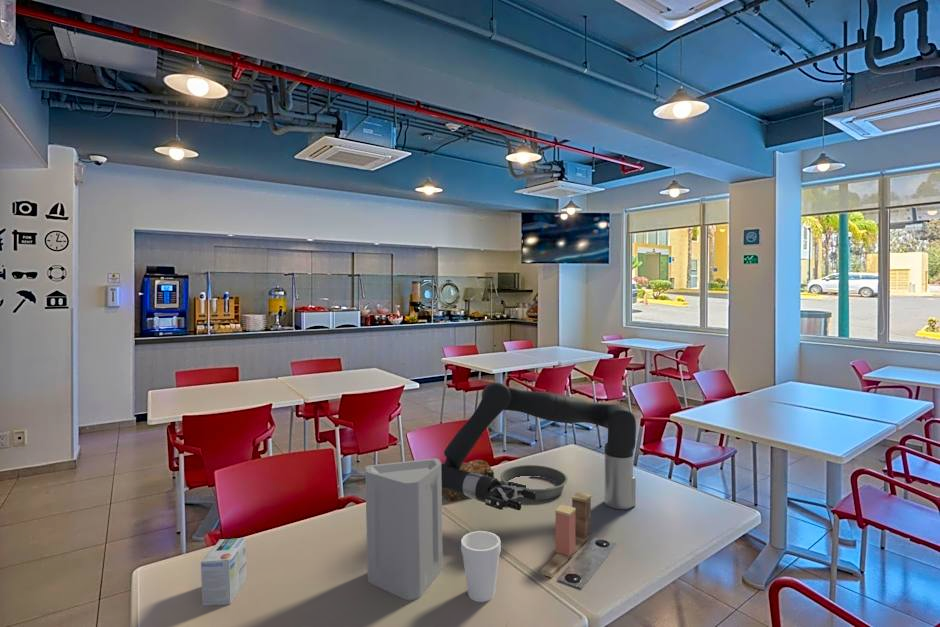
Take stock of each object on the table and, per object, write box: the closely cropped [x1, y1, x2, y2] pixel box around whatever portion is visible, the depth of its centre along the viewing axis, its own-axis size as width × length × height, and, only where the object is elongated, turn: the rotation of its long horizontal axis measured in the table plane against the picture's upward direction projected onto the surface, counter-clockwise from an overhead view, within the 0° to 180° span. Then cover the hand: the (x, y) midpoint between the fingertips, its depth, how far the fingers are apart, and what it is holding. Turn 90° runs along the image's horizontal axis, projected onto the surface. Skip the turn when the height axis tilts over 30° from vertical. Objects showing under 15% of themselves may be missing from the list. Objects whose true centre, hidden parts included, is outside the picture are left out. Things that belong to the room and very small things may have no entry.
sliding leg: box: [554, 504, 576, 556], centre depth 133 cm, size 4×4×12 cm
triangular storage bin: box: [364, 457, 444, 601], centre depth 122 cm, size 19×15×28 cm
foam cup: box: [460, 530, 502, 603], centre depth 117 cm, size 10×9×13 cm
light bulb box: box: [200, 537, 248, 607], centre depth 119 cm, size 11×7×11 cm, turn 5°
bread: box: [442, 459, 495, 501], centre depth 177 cm, size 19×11×10 cm, turn 117°
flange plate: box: [556, 537, 617, 589], centre depth 131 cm, size 25×6×1 cm, turn 145°
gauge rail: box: [540, 491, 592, 579], centre depth 134 cm, size 25×4×13 cm, turn 145°
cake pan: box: [499, 464, 569, 501], centre depth 180 cm, size 25×25×4 cm
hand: (528, 501), depth 140 cm, fingers open, 8 cm apart
